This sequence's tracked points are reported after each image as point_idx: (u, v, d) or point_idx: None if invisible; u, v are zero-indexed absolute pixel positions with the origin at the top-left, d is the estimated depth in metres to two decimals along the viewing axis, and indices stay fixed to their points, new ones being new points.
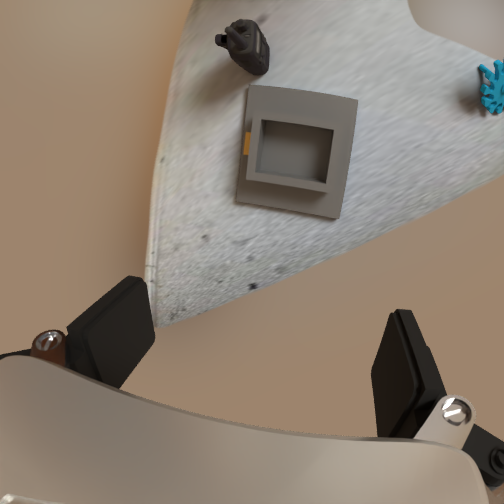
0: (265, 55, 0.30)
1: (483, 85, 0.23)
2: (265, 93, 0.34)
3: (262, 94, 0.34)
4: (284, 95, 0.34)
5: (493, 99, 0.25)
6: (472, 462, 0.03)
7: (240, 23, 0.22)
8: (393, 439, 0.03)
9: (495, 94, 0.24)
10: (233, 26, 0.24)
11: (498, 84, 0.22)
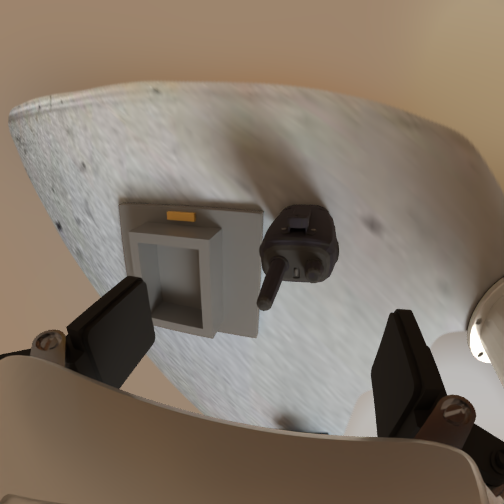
0: None
1: None
2: (249, 236, 0.28)
3: (247, 231, 0.28)
4: (249, 260, 0.29)
5: None
6: (472, 462, 0.03)
7: (311, 277, 0.17)
8: (393, 439, 0.03)
9: None
10: (318, 250, 0.18)
11: None
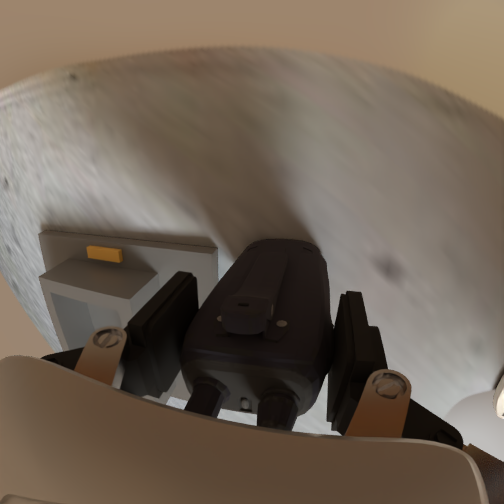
0: None
1: None
2: None
3: None
4: None
5: None
6: (472, 462, 0.03)
7: None
8: (393, 439, 0.03)
9: None
10: (287, 375, 0.08)
11: None
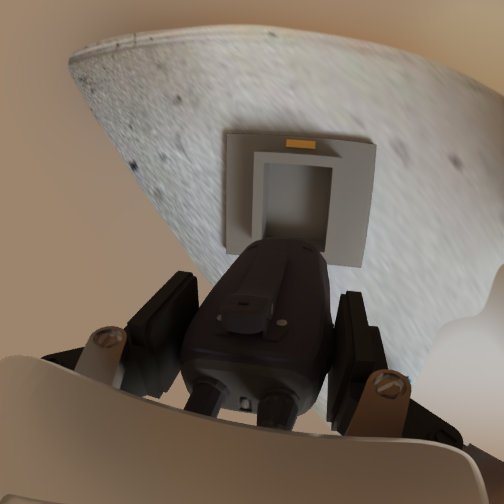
0: None
1: None
2: (365, 164, 0.28)
3: (364, 160, 0.28)
4: (363, 186, 0.29)
5: None
6: (472, 462, 0.03)
7: None
8: (393, 439, 0.03)
9: None
10: (287, 374, 0.08)
11: None
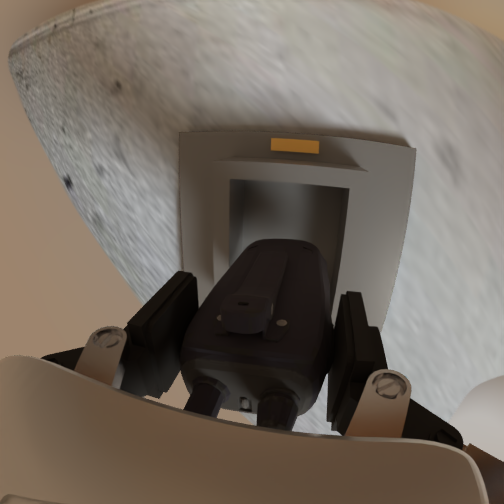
0: None
1: None
2: (399, 179, 0.17)
3: (397, 172, 0.17)
4: (394, 215, 0.18)
5: None
6: (472, 462, 0.03)
7: None
8: (393, 439, 0.03)
9: None
10: (287, 374, 0.08)
11: None
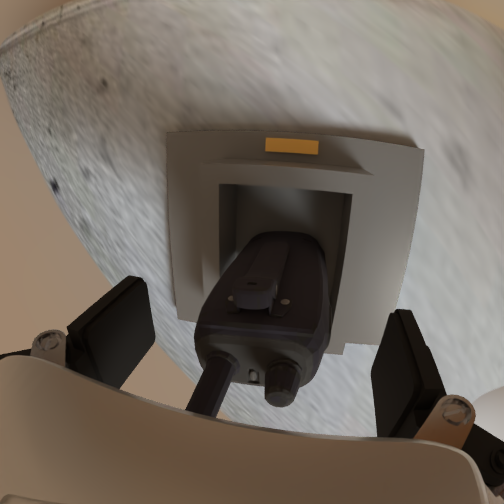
0: None
1: None
2: (405, 183, 0.16)
3: (403, 175, 0.15)
4: (399, 222, 0.16)
5: None
6: (472, 462, 0.03)
7: (275, 401, 0.08)
8: (393, 439, 0.03)
9: None
10: (291, 346, 0.09)
11: None
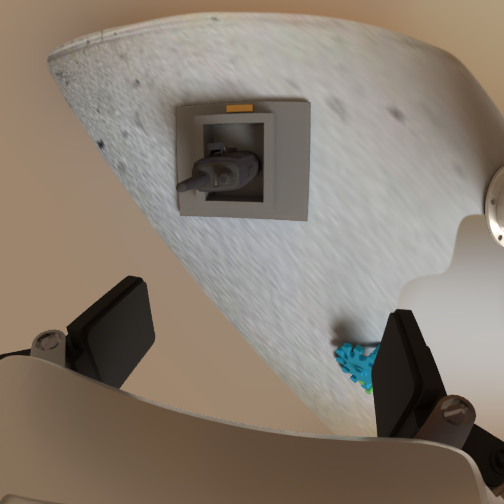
0: None
1: (362, 349, 0.36)
2: (301, 120, 0.31)
3: (299, 117, 0.30)
4: (301, 141, 0.31)
5: (349, 356, 0.38)
6: (472, 462, 0.03)
7: (222, 179, 0.23)
8: (393, 439, 0.03)
9: (354, 360, 0.38)
10: (229, 163, 0.24)
11: (364, 365, 0.36)
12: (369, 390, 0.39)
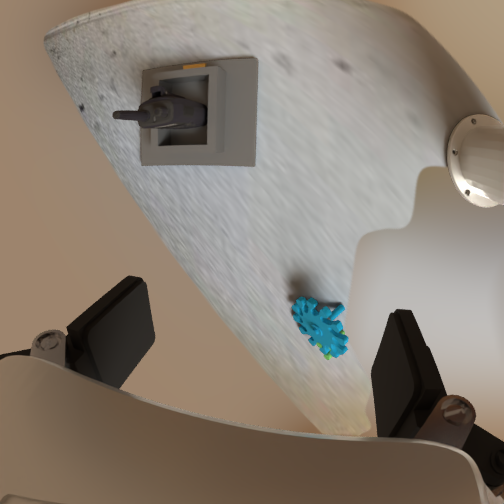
0: (178, 127, 0.32)
1: (315, 302, 0.36)
2: (247, 74, 0.31)
3: (246, 71, 0.31)
4: (247, 93, 0.32)
5: (304, 312, 0.39)
6: (472, 462, 0.03)
7: (155, 112, 0.24)
8: (393, 439, 0.03)
9: (309, 316, 0.38)
10: (165, 101, 0.25)
11: (318, 321, 0.37)
12: (328, 355, 0.40)
